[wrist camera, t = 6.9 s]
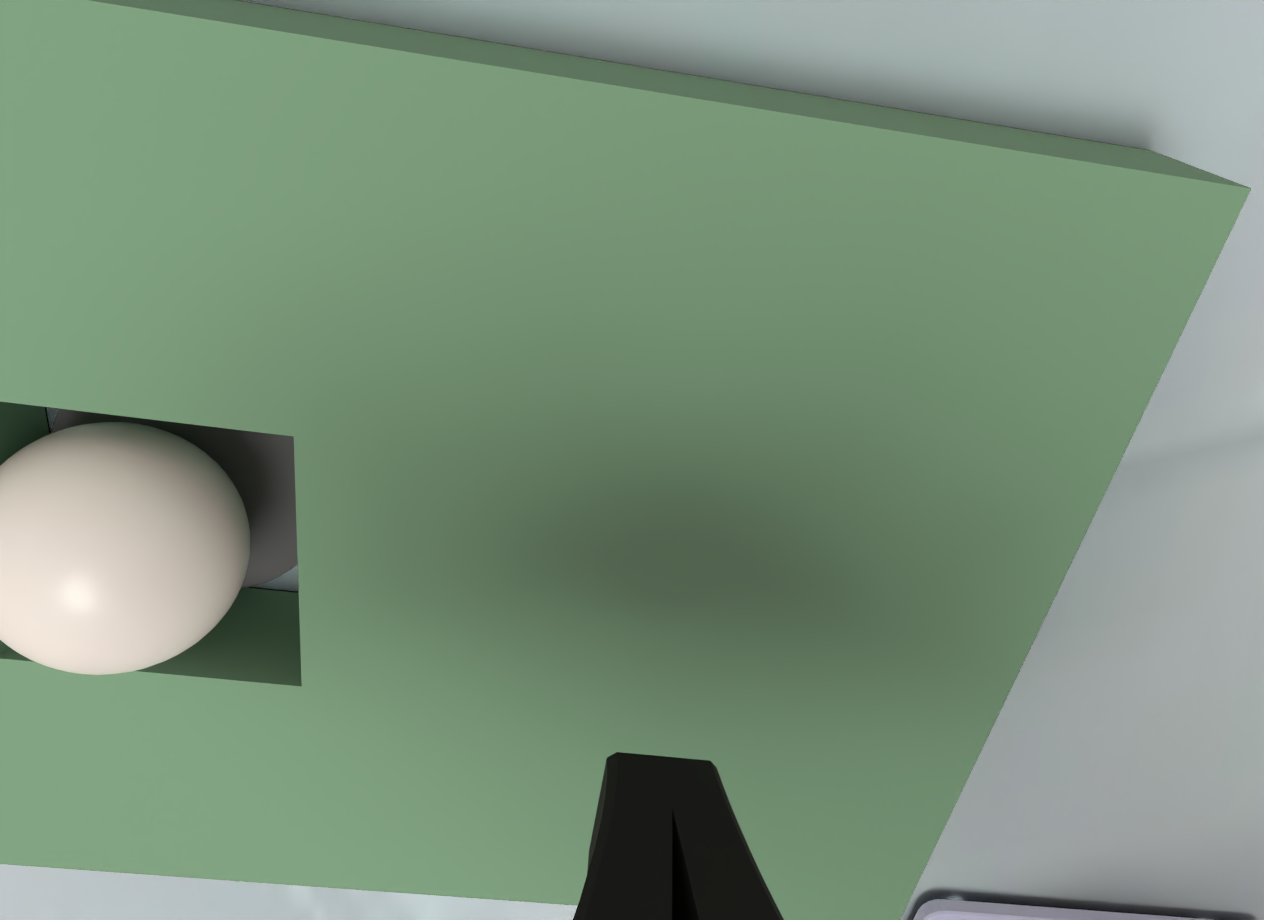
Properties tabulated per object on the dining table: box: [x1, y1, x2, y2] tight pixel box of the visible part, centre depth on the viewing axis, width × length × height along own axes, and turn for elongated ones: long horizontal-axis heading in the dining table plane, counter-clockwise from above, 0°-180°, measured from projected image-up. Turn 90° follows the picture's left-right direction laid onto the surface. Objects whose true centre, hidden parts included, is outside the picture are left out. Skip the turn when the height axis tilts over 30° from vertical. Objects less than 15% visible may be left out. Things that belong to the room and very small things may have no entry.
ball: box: [0, 422, 250, 675], centre depth 15 cm, size 4×4×4 cm
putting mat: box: [0, 0, 1251, 920], centre depth 16 cm, size 20×16×2 cm
